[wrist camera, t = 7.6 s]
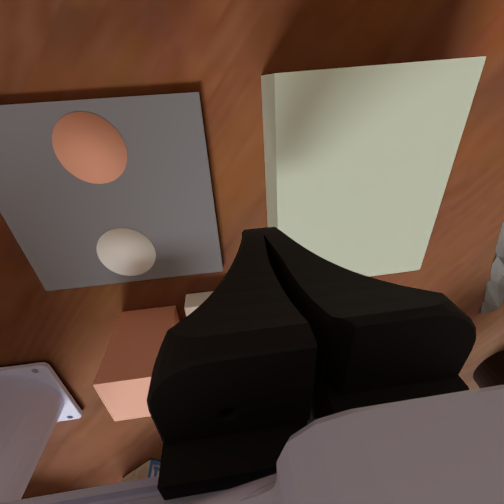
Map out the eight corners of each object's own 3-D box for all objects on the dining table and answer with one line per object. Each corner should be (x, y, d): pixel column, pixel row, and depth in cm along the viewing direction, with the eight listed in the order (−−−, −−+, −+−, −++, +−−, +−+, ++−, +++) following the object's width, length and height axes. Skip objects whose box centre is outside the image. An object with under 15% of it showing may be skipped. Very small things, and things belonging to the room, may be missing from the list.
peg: (136, 346, 23) (114, 421, 18) (122, 311, 21) (92, 384, 16) (184, 340, 23) (176, 412, 18) (175, 305, 21) (163, 375, 16)
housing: (268, 253, 20) (279, 288, 17) (260, 76, 14) (274, 73, 11) (386, 239, 21) (419, 269, 17) (424, 62, 15) (486, 55, 11)
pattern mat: (49, 287, 19) (45, 291, 19) (-53, 108, 13) (-61, 109, 13) (222, 268, 20) (223, 271, 19) (199, 91, 14) (198, 92, 14)
